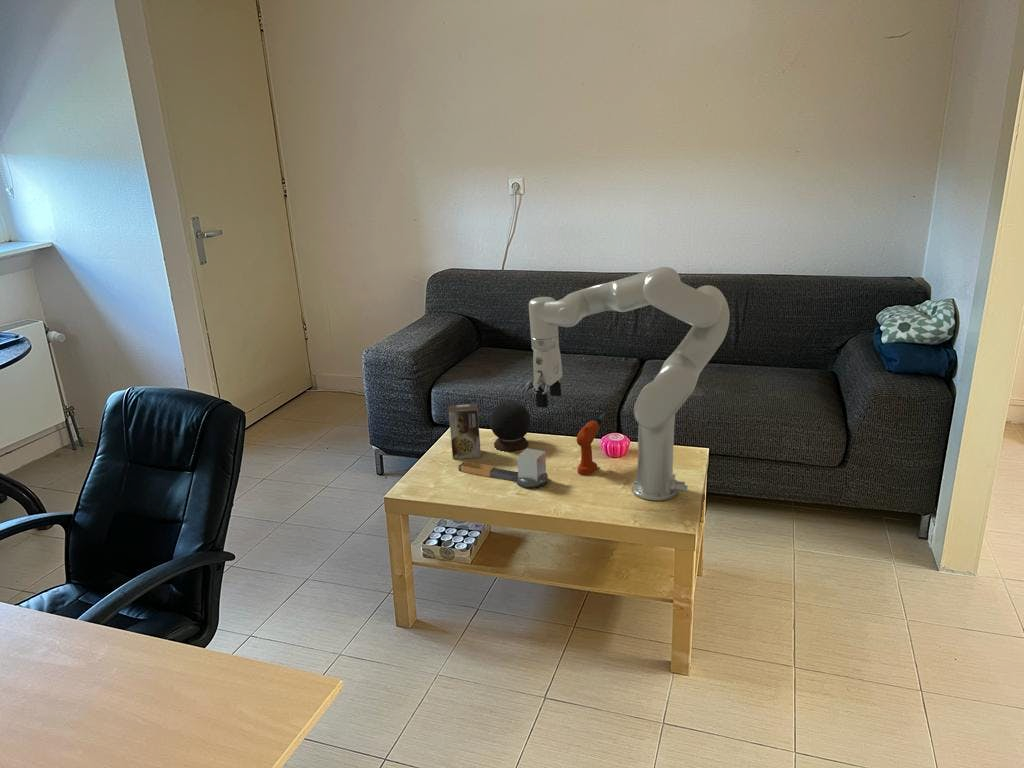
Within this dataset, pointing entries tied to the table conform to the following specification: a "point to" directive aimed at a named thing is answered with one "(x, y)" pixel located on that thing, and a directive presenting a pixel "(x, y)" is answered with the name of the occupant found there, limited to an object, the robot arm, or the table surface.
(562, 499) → the table surface
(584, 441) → the toy drill
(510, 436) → the black ball on stand
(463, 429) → the coffee box
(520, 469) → the socket
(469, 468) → the ratchet
